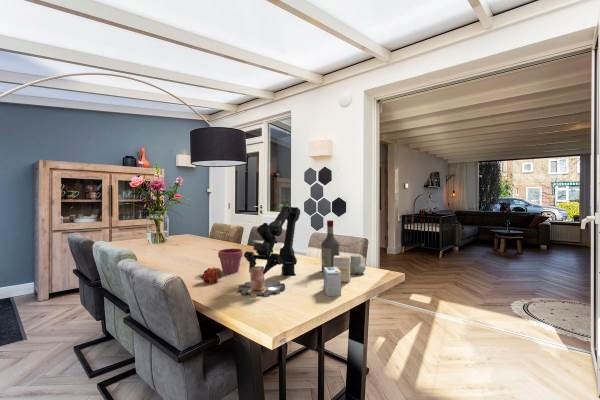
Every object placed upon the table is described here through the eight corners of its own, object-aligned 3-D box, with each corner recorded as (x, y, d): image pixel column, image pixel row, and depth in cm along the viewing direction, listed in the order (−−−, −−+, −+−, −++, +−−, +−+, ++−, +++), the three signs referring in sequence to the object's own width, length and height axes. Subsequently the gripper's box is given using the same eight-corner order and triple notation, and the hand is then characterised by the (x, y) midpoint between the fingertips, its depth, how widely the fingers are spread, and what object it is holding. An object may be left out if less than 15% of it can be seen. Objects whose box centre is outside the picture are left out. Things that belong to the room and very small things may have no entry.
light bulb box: (323, 289, 150) (323, 266, 150) (337, 288, 151) (336, 266, 151) (327, 296, 140) (326, 272, 139) (341, 295, 140) (341, 272, 140)
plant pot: (247, 270, 187) (247, 249, 187) (231, 276, 175) (230, 253, 175) (230, 267, 195) (230, 247, 194) (213, 272, 183) (213, 251, 182)
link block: (264, 287, 148) (263, 266, 149) (261, 290, 144) (260, 268, 144) (254, 287, 149) (253, 266, 150) (251, 290, 145) (250, 268, 145)
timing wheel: (248, 281, 165) (248, 278, 165) (290, 283, 160) (290, 280, 160) (229, 295, 142) (229, 292, 142) (278, 298, 138) (278, 295, 138)
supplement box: (350, 280, 164) (350, 255, 164) (349, 283, 159) (348, 257, 159) (335, 279, 167) (335, 255, 166) (333, 281, 162) (333, 256, 162)
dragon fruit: (224, 283, 167) (202, 290, 160) (218, 271, 172) (197, 278, 165) (226, 273, 162) (203, 280, 155) (220, 261, 167) (197, 268, 160)
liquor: (328, 274, 177) (327, 221, 176) (320, 270, 185) (319, 220, 184) (341, 271, 181) (341, 220, 180) (332, 268, 189) (332, 219, 189)
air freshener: (368, 273, 177) (367, 256, 176) (357, 276, 172) (357, 258, 172) (354, 269, 186) (354, 253, 185) (344, 272, 181) (344, 255, 181)
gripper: (245, 235, 153) (232, 262, 143) (279, 236, 146) (267, 265, 136) (254, 248, 160) (242, 274, 151) (286, 250, 153) (276, 278, 143)
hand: (256, 273), depth 145 cm, fingers open, 7 cm apart
